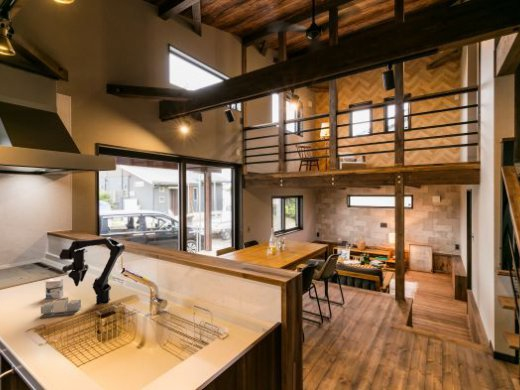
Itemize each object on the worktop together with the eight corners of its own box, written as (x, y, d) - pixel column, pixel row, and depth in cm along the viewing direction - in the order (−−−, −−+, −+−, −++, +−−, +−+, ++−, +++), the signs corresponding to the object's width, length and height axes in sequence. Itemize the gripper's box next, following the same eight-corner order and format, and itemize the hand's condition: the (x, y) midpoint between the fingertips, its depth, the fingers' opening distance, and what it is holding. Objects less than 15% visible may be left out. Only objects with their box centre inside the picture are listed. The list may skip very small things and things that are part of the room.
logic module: (68, 307, 163) (68, 296, 163) (64, 311, 157) (64, 300, 157) (58, 308, 162) (58, 297, 161) (54, 312, 156) (53, 301, 156)
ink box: (45, 299, 179) (45, 281, 179) (48, 296, 184) (48, 279, 183) (60, 297, 181) (60, 280, 181) (63, 295, 186) (63, 278, 186)
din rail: (82, 306, 168) (82, 297, 167) (75, 314, 156) (74, 304, 156) (48, 309, 163) (48, 300, 163) (38, 319, 151) (37, 308, 151)
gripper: (69, 257, 180) (69, 280, 180) (58, 264, 162) (58, 290, 162) (88, 255, 183) (88, 278, 184) (79, 262, 166) (79, 288, 166)
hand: (79, 283), depth 174 cm, fingers open, 9 cm apart
